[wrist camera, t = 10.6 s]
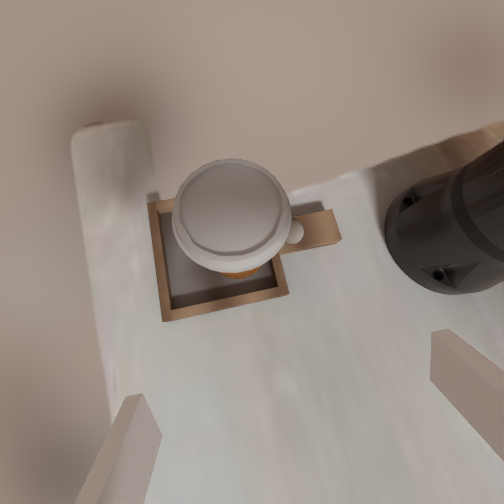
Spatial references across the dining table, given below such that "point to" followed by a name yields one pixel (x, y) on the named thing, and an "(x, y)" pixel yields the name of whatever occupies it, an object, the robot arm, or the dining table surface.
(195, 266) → the tray
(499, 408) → the robot arm
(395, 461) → the dining table surface
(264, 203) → the disposable coffee cup
